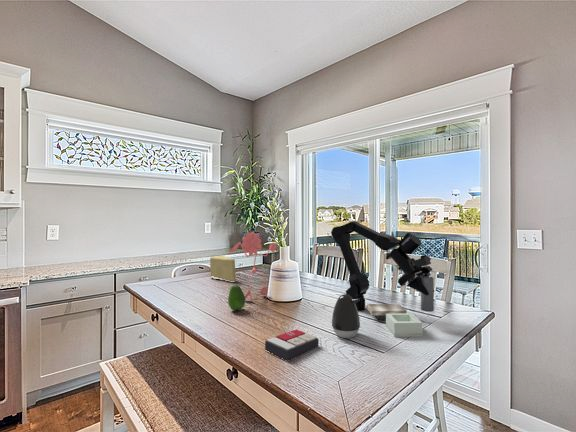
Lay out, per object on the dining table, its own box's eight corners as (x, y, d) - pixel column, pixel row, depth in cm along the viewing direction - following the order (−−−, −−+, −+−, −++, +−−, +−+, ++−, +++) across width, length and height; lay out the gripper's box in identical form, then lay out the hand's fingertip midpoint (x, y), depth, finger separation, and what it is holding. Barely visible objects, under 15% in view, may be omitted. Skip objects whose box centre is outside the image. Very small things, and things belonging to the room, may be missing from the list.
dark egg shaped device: (354, 343, 110) (354, 300, 110) (327, 337, 116) (326, 296, 115) (364, 333, 119) (364, 292, 119) (338, 328, 125) (337, 289, 124)
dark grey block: (423, 311, 121) (423, 279, 121) (419, 307, 126) (419, 276, 125) (435, 311, 121) (435, 278, 121) (430, 307, 125) (430, 276, 125)
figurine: (281, 295, 170) (278, 230, 169) (238, 306, 154) (235, 233, 153) (265, 290, 182) (262, 229, 181) (223, 300, 166) (221, 232, 165)
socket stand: (394, 336, 115) (394, 323, 115) (386, 326, 125) (385, 313, 125) (422, 336, 115) (422, 322, 115) (411, 325, 125) (411, 313, 125)
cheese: (241, 281, 204) (240, 258, 203) (228, 284, 197) (227, 260, 197) (222, 276, 220) (222, 254, 219) (210, 279, 213) (209, 256, 213)
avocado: (224, 311, 148) (224, 285, 147) (238, 306, 153) (237, 281, 153) (235, 314, 142) (234, 288, 142) (249, 310, 148) (248, 284, 148)
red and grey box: (319, 336, 109) (287, 348, 99) (319, 349, 109) (287, 362, 99) (296, 327, 117) (264, 338, 107) (296, 339, 117) (264, 351, 107)
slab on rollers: (372, 321, 131) (372, 311, 131) (366, 313, 140) (366, 304, 140) (406, 320, 131) (406, 310, 131) (399, 313, 140) (399, 303, 140)
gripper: (405, 251, 119) (435, 286, 111) (427, 246, 132) (456, 276, 124) (386, 269, 125) (413, 303, 117) (409, 262, 138) (435, 293, 130)
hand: (430, 293), depth 122 cm, fingers closed on dark grey block, 4 cm apart
